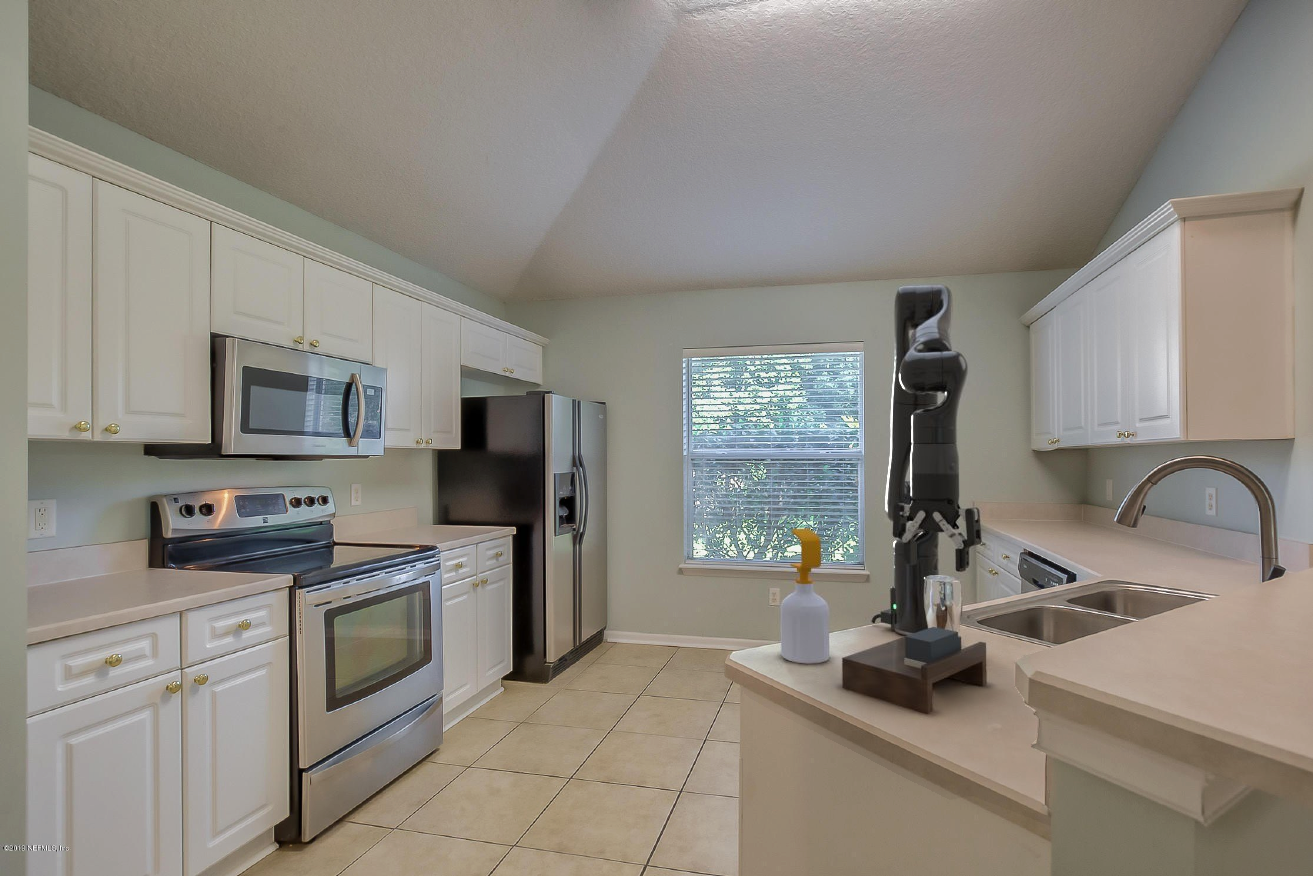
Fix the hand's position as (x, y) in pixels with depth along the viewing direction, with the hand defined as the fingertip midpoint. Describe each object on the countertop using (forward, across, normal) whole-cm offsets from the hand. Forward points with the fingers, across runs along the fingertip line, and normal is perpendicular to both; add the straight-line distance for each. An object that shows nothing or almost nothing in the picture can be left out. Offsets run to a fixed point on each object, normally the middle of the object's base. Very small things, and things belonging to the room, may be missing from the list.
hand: (935, 567), depth 110 cm
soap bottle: (+20, +25, +3) cm, 32 cm away
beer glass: (+21, +8, -18) cm, 29 cm away
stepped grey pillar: (+15, 0, +2) cm, 15 cm away
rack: (+20, +3, +2) cm, 20 cm away
